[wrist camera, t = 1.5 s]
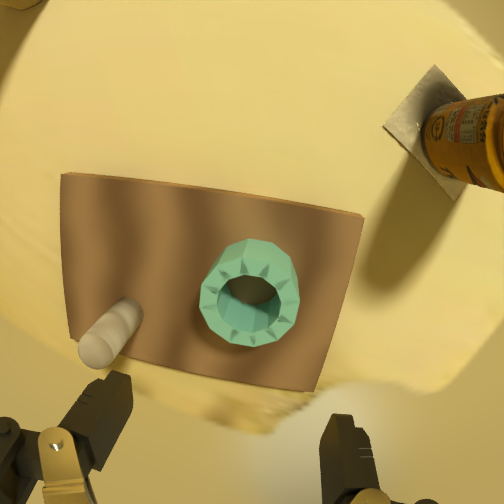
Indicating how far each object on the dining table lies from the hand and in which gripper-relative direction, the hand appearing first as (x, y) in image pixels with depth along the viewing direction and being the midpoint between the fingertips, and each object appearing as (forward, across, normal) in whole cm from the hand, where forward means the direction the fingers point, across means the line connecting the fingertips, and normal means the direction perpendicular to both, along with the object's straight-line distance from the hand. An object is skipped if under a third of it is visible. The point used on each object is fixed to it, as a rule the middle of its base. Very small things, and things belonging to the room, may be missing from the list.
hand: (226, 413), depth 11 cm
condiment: (+15, -13, -14) cm, 24 cm away
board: (+15, +5, +2) cm, 16 cm away
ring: (+13, 0, 0) cm, 13 cm away
